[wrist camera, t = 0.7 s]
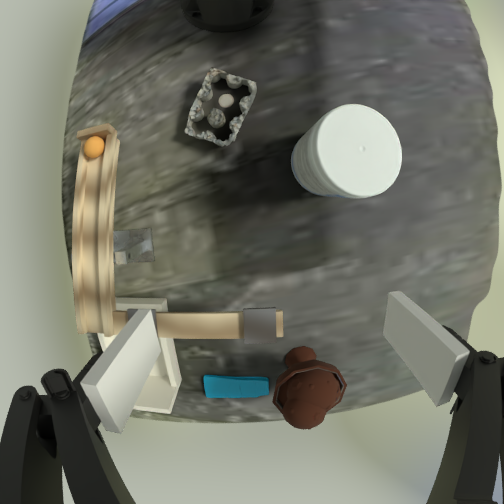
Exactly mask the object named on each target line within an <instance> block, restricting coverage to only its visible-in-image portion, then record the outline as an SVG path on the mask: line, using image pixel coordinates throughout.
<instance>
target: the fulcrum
mask: <svg viewBox="0 0 504 504" xmlns="http://www.w3.org/2000/svg"><path fill="white" fill-rule="evenodd" d="M71 258H72V254H71ZM113 260H114V263H116V264H128V263H129V262H154V261H155V257H154V248H153V238H152V228H146V229H132V230H119V231H113Z"/></svg>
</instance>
